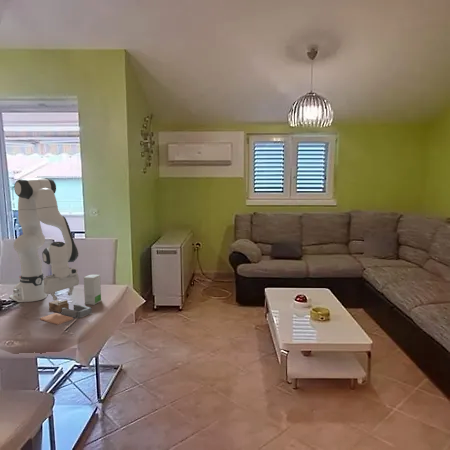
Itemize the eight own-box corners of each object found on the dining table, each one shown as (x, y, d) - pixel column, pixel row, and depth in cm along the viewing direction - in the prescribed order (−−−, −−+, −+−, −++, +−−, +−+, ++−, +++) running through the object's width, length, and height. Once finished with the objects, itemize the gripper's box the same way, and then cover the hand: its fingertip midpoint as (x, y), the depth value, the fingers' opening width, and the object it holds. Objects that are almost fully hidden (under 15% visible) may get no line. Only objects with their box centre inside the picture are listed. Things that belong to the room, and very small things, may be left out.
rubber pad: (40, 319, 210) (39, 318, 210) (55, 314, 218) (55, 312, 217) (57, 324, 203) (57, 323, 203) (73, 319, 210) (73, 317, 210)
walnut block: (49, 309, 226) (48, 299, 225) (57, 307, 230) (56, 297, 229) (60, 313, 220) (60, 302, 220) (69, 310, 225) (68, 300, 224)
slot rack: (61, 314, 218) (61, 308, 218) (75, 309, 226) (75, 303, 225) (77, 318, 212) (77, 312, 211) (91, 313, 219) (91, 307, 219)
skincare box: (94, 305, 233) (93, 277, 231) (83, 304, 234) (82, 277, 232) (101, 300, 241) (100, 274, 239) (91, 299, 242) (90, 273, 240)
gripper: (47, 277, 211) (49, 303, 213) (79, 268, 229) (81, 293, 230) (39, 276, 214) (42, 302, 216) (72, 267, 232) (74, 291, 234)
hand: (62, 297), depth 223 cm, fingers open, 8 cm apart
